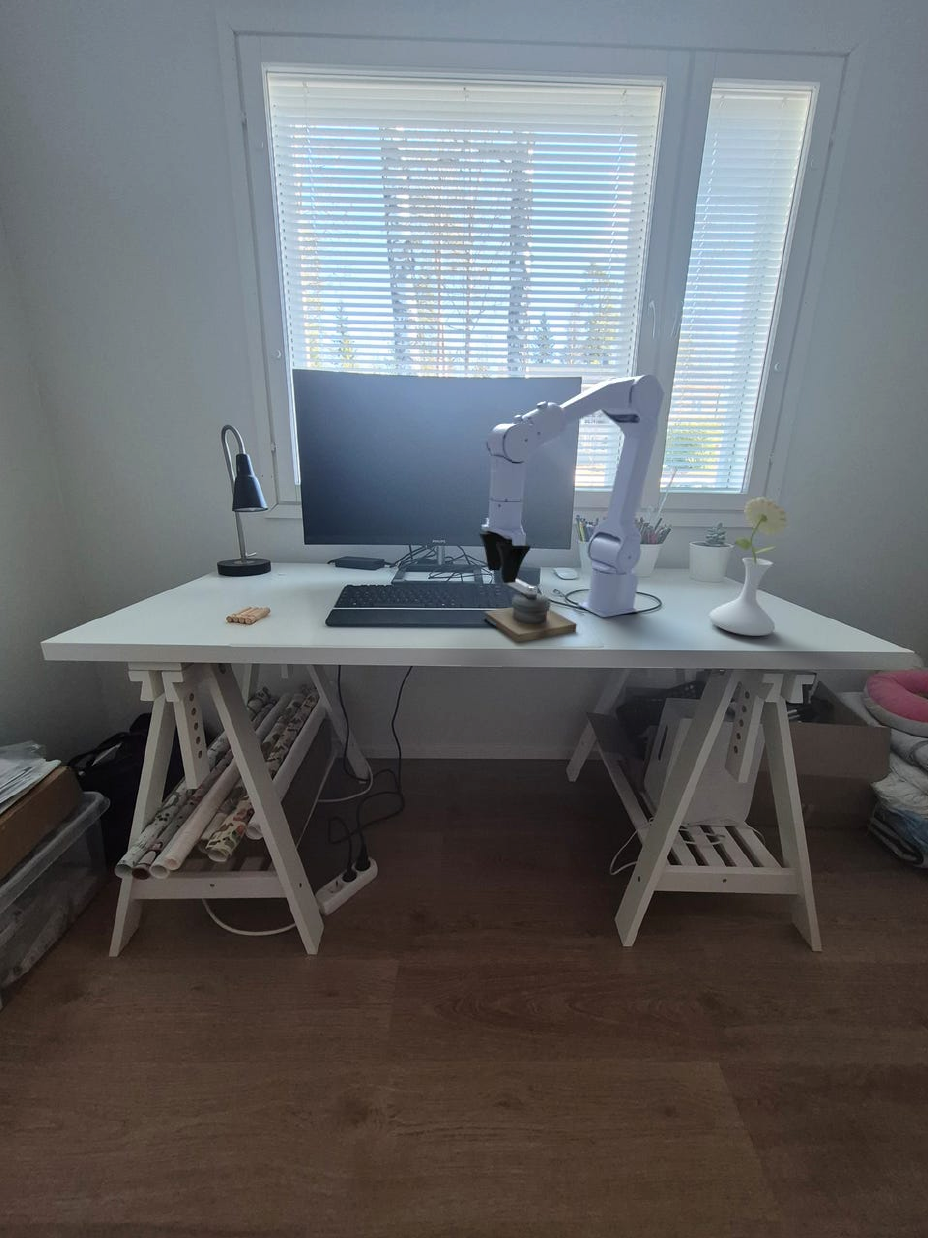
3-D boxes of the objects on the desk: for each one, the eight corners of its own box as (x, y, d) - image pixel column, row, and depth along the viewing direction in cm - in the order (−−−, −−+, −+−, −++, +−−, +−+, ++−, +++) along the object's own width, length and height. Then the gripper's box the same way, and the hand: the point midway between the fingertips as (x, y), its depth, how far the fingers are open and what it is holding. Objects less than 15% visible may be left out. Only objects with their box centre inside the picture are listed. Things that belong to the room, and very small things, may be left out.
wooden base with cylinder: (538, 610, 98) (540, 584, 96) (575, 631, 88) (579, 603, 86) (483, 618, 92) (485, 592, 90) (517, 642, 82) (520, 613, 80)
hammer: (539, 598, 88) (541, 577, 86) (529, 599, 87) (531, 578, 85) (510, 582, 96) (511, 563, 94) (500, 583, 95) (501, 564, 93)
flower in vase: (786, 641, 87) (830, 505, 78) (727, 641, 86) (765, 503, 77) (743, 616, 99) (777, 494, 90) (691, 615, 99) (720, 493, 89)
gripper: (471, 493, 86) (468, 566, 91) (498, 506, 73) (493, 589, 78) (507, 493, 88) (502, 564, 93) (540, 505, 75) (533, 587, 80)
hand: (501, 575), depth 85 cm, fingers open, 7 cm apart
